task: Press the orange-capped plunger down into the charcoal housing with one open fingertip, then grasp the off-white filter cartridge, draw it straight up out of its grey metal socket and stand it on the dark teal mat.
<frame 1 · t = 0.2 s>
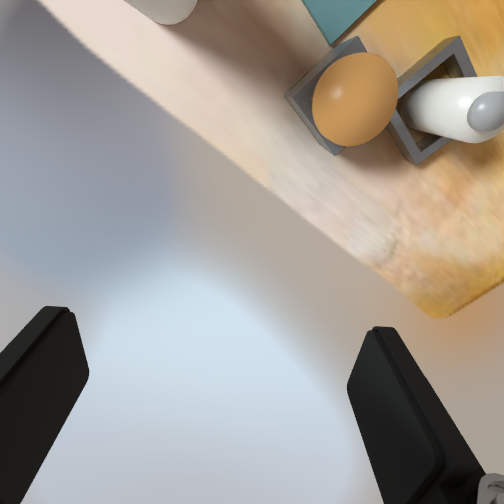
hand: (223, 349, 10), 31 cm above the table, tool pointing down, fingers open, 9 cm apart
plunger housing: (327, 98, 33), on the table
filter cartridge: (453, 108, 29), in the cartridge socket
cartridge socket: (423, 105, 34), on the table
plunger: (346, 101, 27), point 7 cm above the table, slide at 0.0 cm
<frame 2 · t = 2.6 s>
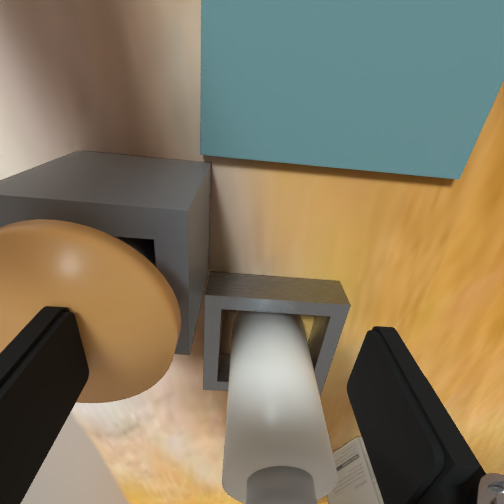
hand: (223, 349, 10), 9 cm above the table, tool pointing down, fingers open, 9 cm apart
plunger housing: (150, 216, 17), on the table
skincare box: (372, 459, 32), on the table
filter cartridge: (272, 391, 17), in the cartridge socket
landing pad: (360, 28, 13), on the table
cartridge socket: (267, 324, 22), on the table
plunger: (98, 287, 11), point 7 cm above the table, slide at 0.5 cm, touching gripper
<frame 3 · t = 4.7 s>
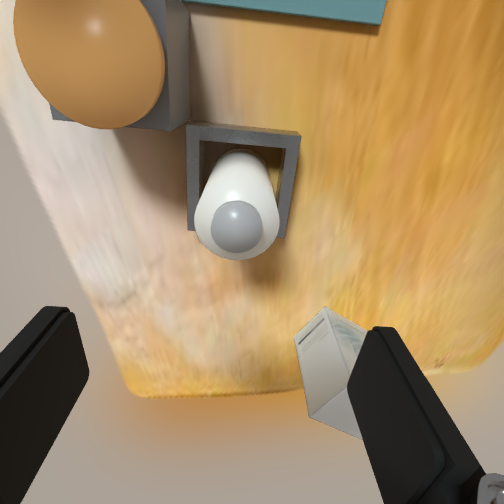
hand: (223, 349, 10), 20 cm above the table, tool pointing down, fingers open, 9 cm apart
plunger housing: (143, 64, 22), on the table
skincare box: (340, 336, 37), on the table
filter cartridge: (239, 198, 22), in the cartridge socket
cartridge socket: (240, 178, 27), on the table
plunger: (109, 58, 17), point 6 cm above the table, slide at 1.4 cm
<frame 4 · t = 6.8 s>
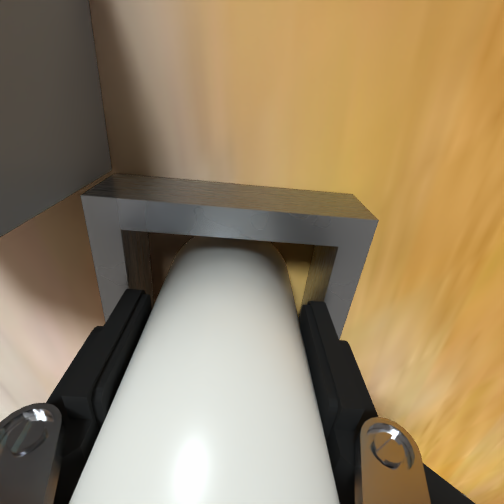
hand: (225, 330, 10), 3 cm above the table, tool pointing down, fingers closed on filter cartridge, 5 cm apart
filter cartridge: (219, 395, 8), in the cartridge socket, touching gripper
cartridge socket: (229, 281, 13), on the table
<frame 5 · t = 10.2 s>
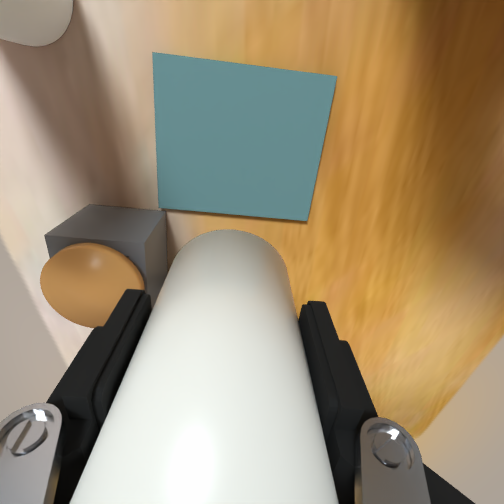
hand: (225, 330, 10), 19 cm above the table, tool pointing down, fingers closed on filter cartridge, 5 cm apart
plunger housing: (130, 241, 29), on the table
filter cartridge: (219, 397, 8), point 21 cm above the table, touching gripper
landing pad: (240, 146, 25), on the table
plunger: (105, 273, 24), point 6 cm above the table, slide at 1.4 cm
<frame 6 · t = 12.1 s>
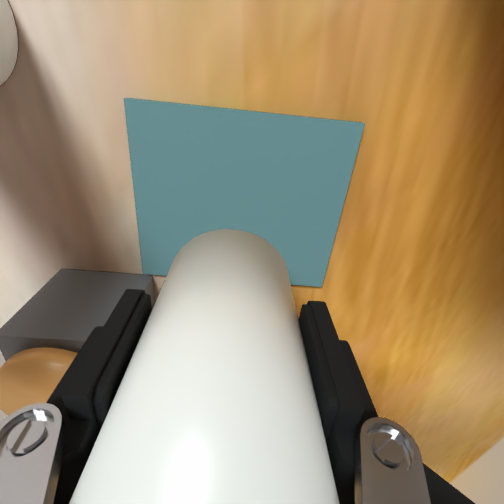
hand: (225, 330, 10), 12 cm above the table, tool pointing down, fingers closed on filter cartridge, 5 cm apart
plunger housing: (113, 306, 25), on the table
filter cartridge: (219, 397, 8), point 14 cm above the table, touching gripper
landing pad: (239, 205, 20), on the table
plunger: (76, 366, 19), point 6 cm above the table, slide at 1.4 cm
when the fingers open (5 cm above the table, at t = 13.7 s): filter cartridge drops 1 cm, resting on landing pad.
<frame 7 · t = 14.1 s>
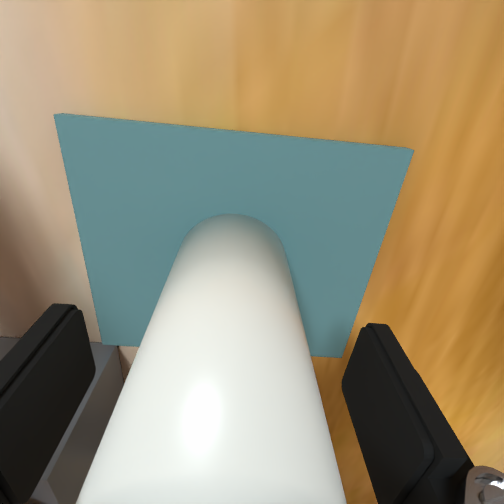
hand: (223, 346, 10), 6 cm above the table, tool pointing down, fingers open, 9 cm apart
plunger housing: (68, 379, 19), on the table
filter cartridge: (226, 353, 9), on the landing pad, point 6 cm above the table
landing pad: (231, 258, 15), on the table
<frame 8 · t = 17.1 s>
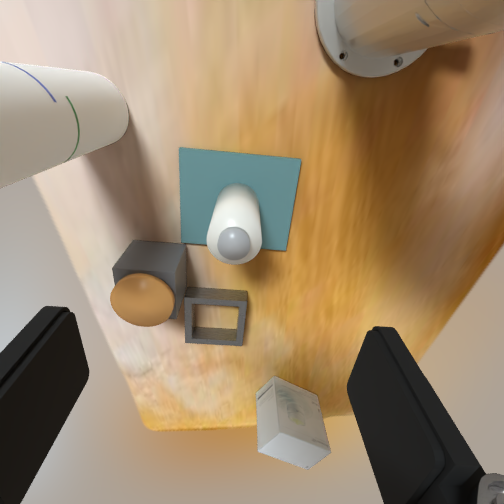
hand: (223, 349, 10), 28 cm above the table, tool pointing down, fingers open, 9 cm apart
plunger housing: (161, 264, 41), on the table
skincare box: (286, 392, 56), on the table
cylindrical container: (95, 110, 32), on the table
filter cartridge: (236, 221, 31), on the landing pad, point 6 cm above the table
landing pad: (237, 202, 37), on the table
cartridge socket: (216, 311, 45), on the table
plunger: (148, 290, 36), point 6 cm above the table, slide at 1.4 cm
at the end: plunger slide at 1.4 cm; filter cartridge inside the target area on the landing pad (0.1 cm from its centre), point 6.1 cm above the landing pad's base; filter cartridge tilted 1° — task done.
